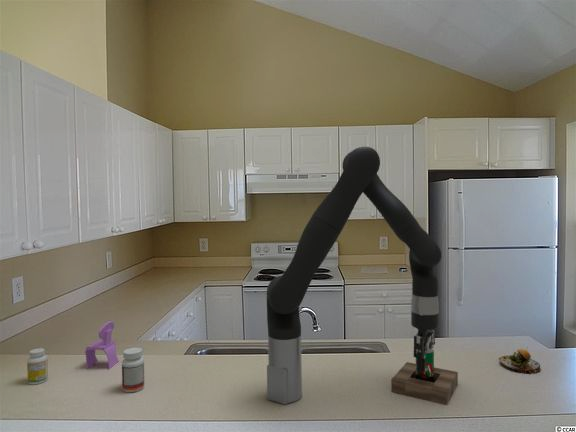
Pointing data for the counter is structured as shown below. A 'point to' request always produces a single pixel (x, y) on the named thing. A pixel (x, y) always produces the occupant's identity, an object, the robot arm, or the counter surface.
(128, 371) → the pill bottle
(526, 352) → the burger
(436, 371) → the socket block
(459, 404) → the counter surface
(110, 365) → the toy chair
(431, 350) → the soda can
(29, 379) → the supplement bottle
